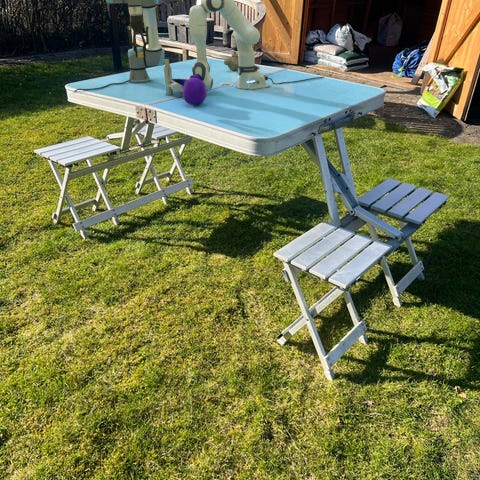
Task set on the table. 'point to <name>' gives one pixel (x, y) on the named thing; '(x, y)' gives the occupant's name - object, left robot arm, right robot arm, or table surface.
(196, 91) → the toy
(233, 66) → the teapot
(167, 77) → the bottle
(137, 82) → the left robot arm
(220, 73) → the table surface
